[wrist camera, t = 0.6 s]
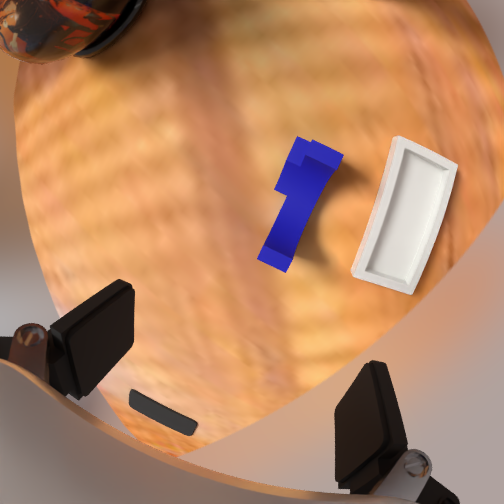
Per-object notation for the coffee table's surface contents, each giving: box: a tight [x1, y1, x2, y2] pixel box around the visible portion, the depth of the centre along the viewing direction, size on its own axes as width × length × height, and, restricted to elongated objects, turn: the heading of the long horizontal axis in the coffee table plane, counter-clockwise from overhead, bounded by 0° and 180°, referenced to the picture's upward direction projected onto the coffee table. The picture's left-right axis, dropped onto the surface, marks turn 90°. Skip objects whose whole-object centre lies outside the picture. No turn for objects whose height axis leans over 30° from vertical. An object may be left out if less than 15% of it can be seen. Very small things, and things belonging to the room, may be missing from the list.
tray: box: [351, 135, 458, 295], centre depth 26 cm, size 16×8×2 cm, turn 166°
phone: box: [129, 389, 197, 436], centre depth 46 cm, size 7×1×15 cm
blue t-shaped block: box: [257, 136, 344, 273], centre depth 26 cm, size 12×4×6 cm, turn 157°
